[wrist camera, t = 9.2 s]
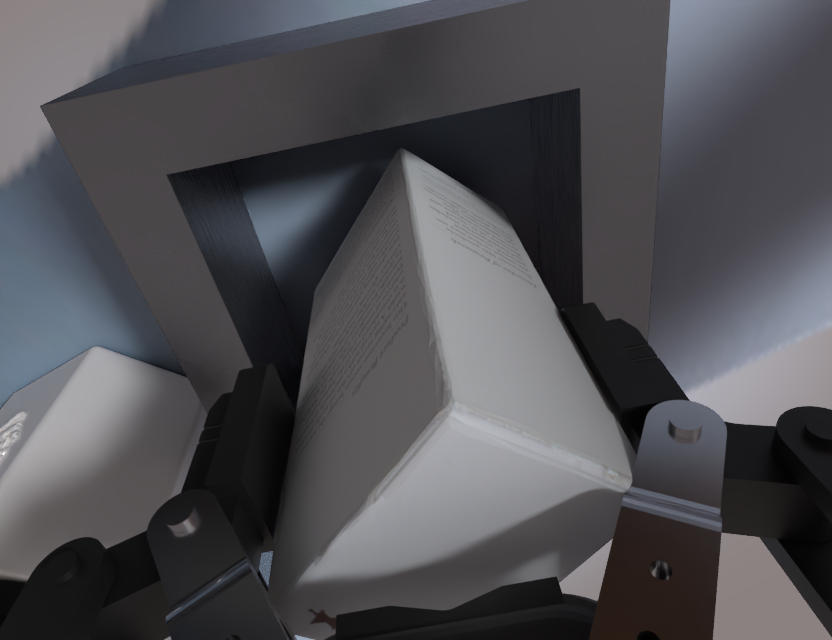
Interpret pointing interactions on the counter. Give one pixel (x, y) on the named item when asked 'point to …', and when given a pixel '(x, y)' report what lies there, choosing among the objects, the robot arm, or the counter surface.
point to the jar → (90, 457)
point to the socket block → (360, 113)
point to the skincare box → (438, 418)
